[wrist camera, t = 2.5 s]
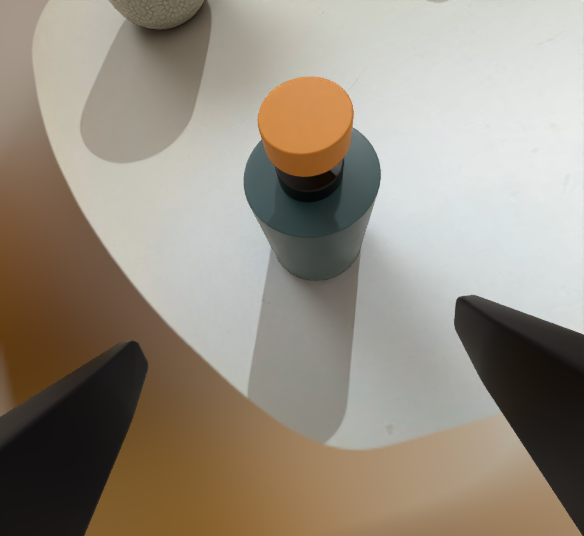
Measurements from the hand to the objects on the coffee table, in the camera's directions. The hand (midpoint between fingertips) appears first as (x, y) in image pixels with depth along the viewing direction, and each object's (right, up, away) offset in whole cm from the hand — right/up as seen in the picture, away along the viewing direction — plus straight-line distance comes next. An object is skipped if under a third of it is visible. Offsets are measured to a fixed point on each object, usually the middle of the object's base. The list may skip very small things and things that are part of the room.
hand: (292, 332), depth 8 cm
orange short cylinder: (+1, +7, +5) cm, 9 cm away
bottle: (+2, +4, +16) cm, 16 cm away
